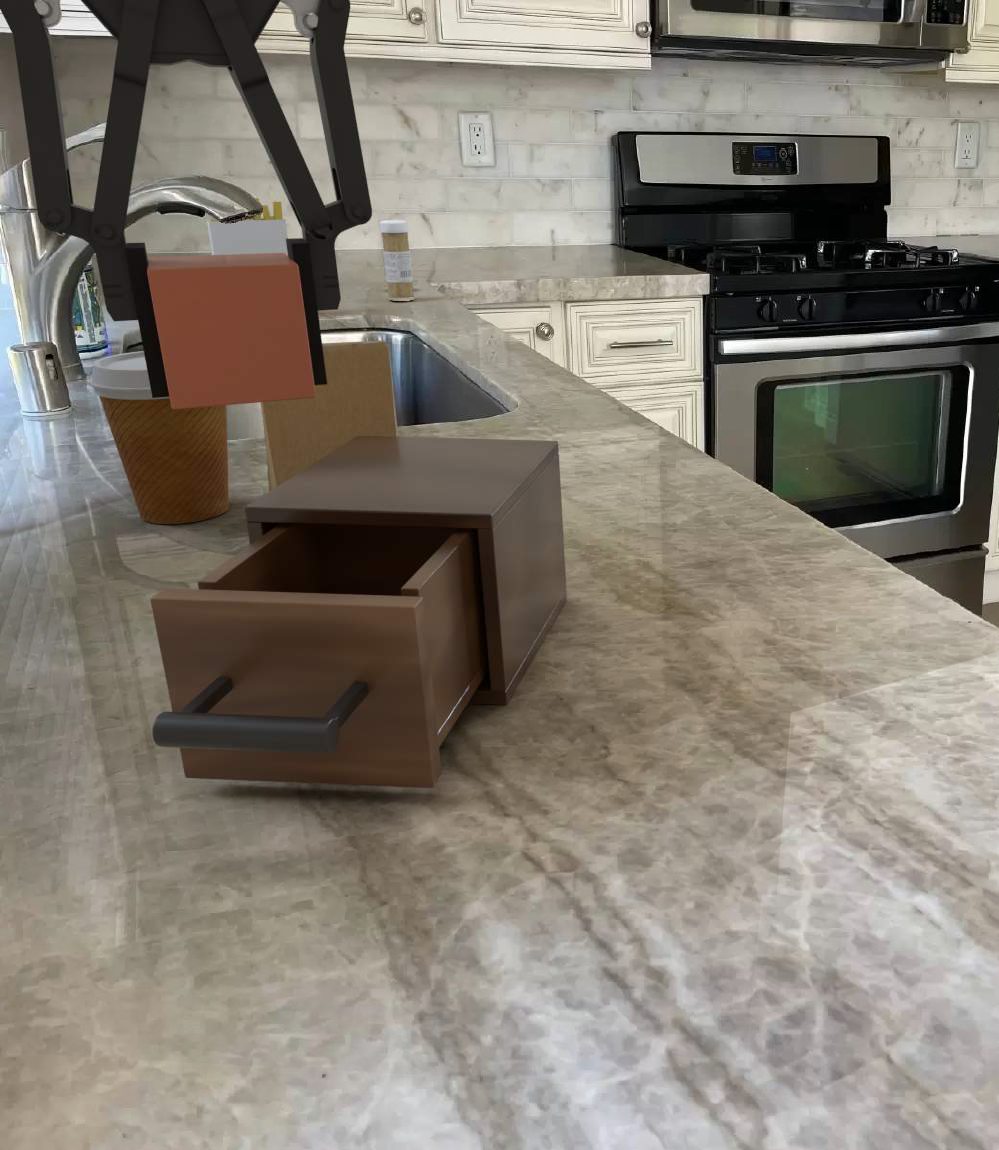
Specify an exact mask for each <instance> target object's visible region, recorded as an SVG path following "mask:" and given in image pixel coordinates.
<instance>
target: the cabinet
mask: <svg viewBox="0 0 999 1150" xmlns="http://www.w3.org/2000/svg"><path fill="white" fill-rule="evenodd" d="M559 452H560V451H559V441H558V440H542V439H541V440H538V439H506V438H505V439H503V438H500V439H499V438H468V437H467V438H463V437H462V438H461V437H430V436H429V437H428V436H427V437H425V436H423V437H422V436H398V437H391V436H356V437H355V438H353V439H351V440H350V441H348V442H347V443H345V444H344V445H342V446H340V447H339V448H337V449H336V450H334V451H332V452H331V453H329V454H328V455H326V456H325V457H323V458H321V459H320V460H318V461H317V462H315V463H314V464H312V465H310V466H309V467H307V468H306V469H304V470H303V471H301V472H299V473H298V474H296V475H295V476H293V477H292V478H290V479H288V480H287V481H285V482H284V483H282V484H280V485H279V486H277V487H276V488H274V489H273V490H271V491H268V492H266V493H264V494H263V495H261V496H260V497H259V498H257V499H255V500H254V501H252V502H250V503H249V504H247V505H245V507H244V508H243V509H244V516H245V521H246V523H245V524H246V529H247V536H248V542H249V545H250V544H252V543H253V542H255V541H256V540H257V539H259V538H260V537H262V536H263V535H264V534H266V533H267V532H269V531H270V530H272V529H273V528H274V527H276V526H277V525H279V524H280V523H303V524H336V525H370V526H403V527H436V528H470V529H478V542H479V554H480V566H481V578H482V589H483V601H484V613H485V625H486V637H487V649H488V661H489V671H488V672H487V674H486V675H485V677H484V679H483V680H482V682H481V683H480V685H479V686H478V688H477V689H476V691H475V692H474V694H473V696H472V697H471V699H470V700H469V702H468V703H467V704H473V705H474V704H475V705H498V706H499V705H502V706H506V705H508V703H509V701H510V700H511V698H512V696H513V695H514V694H515V691H516V689H517V687H518V686H519V685H520V683H521V680H522V679H523V677H524V675H525V673H526V672H527V670H528V668H529V666H530V665H531V663H532V662H533V660H534V658H535V656H536V654H537V653H538V651H539V649H540V648H541V646H542V644H543V643H544V641H545V639H546V637H547V635H548V634H549V632H550V630H551V628H552V627H553V625H554V623H555V622H556V619H557V618H558V616H559V614H560V612H561V611H562V610H563V608H564V606H565V604H566V602H567V601H568V597H567V596H568V595H567V576H566V558H565V557H566V556H565V540H564V537H565V536H564V524H563V523H564V521H563V503H562V485H561V468H560V467H561V466H560V465H561V464H560V454H559Z"/></svg>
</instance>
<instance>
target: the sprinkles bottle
mask: <svg viewBox="0 0 999 1150" xmlns="http://www.w3.org/2000/svg"><path fill="white" fill-rule="evenodd" d="M379 229H380V230H379V231H380V235H381V239H382V248H383V250H382V251H383V261H384V271H385V279H386V284H387V292H388V294H387V295H388V297H390V298H409V297H415V293H414V283H413V281H414V279H413V278H414V277H413V268H412V258H411V250H410V244H409V225H408V221H407V220H404V219H403V220H402V219H387V220H381V221H380V222H379Z"/></svg>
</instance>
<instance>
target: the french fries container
mask: <svg viewBox="0 0 999 1150" xmlns="http://www.w3.org/2000/svg"><path fill="white" fill-rule="evenodd" d="M253 198H254V199H255V200H257V201H258V202H259V203H260V198H258V197H253ZM262 206H263V211H262V216H261V213H260V215H258V216H256V217H254V218H252V217H251V218H250V219H246V220H242V221H239V222H236V223H231V224H225V223H221V222H219V221H220V220H219V221H217V220H214V219H211V218H210V217H209V218H210V221H209V220H206V226H207V229H208V230H207V231H208V232H207V233H208V237H209V243H210V250H211V255H233V254H263V253H285V254H286V255H287V256H288V252H287V245H286V239H289V238H288V229H287V223H286V219H285V218H283V207H282V201H272V209H273V215H271V213H270V209H269V206H268V205H266V204H265V205H262ZM262 217H263V218H262Z"/></svg>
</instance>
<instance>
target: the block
mask: <svg viewBox="0 0 999 1150" xmlns="http://www.w3.org/2000/svg"><path fill="white" fill-rule="evenodd" d="M147 258H148V266H147V274H148V280H149V285H150V291H151V297H152V302H153V308H154V313H155V319H156V324H157V330H158V335H159V341H160V346H161V352H162V357H163V363H164V368H165V374H166V379H167V385H168V391H169V396H170V402H171V407H172V409H186V408H198V407H210V406H222V405H226V406H233V405H243V404H244V405H245V404H257V403H261V402H270V401H282V400H294V399H305V398H315V397H316V393H315V385H314V378H313V371H312V363H311V356H310V348H309V341H308V334H307V326H306V319H305V311H304V304H303V296H302V289H301V282H300V274H299V267H298V264H296V263H295V262H294V261H293V260H292V259H291V258H290V257H289V256H287V255H286V254H285V253H263V254H233V255H212V254H205V255H202V254H201V255H178V256H177V255H176V256H175V255H174V256H148V257H147Z"/></svg>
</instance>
